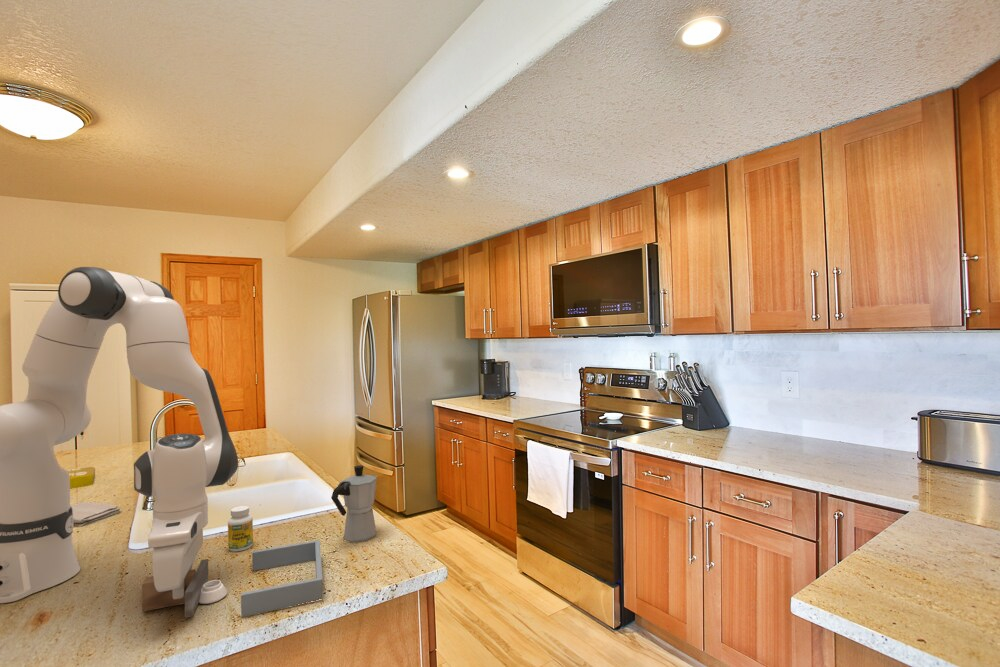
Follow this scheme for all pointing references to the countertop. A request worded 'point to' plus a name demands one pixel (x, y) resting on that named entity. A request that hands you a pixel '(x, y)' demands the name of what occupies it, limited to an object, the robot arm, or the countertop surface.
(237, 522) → the supplement bottle
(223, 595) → the white jar
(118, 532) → the countertop surface
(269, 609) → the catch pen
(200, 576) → the scraper
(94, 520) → the washcloth
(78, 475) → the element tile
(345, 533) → the coffee maker
